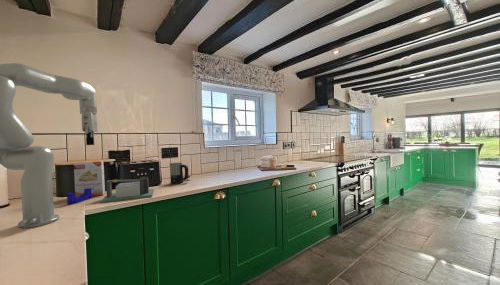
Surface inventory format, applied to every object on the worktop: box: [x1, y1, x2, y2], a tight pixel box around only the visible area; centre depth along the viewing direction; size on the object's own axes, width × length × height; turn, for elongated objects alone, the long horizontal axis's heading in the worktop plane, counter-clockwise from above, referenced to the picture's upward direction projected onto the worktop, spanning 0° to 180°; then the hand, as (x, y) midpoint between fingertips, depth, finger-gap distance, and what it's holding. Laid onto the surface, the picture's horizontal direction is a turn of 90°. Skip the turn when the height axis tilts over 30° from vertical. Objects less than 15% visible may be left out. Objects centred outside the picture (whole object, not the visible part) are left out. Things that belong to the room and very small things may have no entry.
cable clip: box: [66, 188, 93, 206], centre depth 126 cm, size 12×4×6 cm, turn 170°
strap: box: [112, 178, 141, 183], centre depth 133 cm, size 16×3×1 cm, turn 110°
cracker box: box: [73, 160, 106, 198], centre depth 137 cm, size 14×6×21 cm, turn 112°
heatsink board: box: [100, 176, 154, 204], centre depth 133 cm, size 18×25×10 cm
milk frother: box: [169, 161, 191, 185], centre depth 173 cm, size 14×16×15 cm
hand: (90, 144), depth 123 cm, fingers closed
